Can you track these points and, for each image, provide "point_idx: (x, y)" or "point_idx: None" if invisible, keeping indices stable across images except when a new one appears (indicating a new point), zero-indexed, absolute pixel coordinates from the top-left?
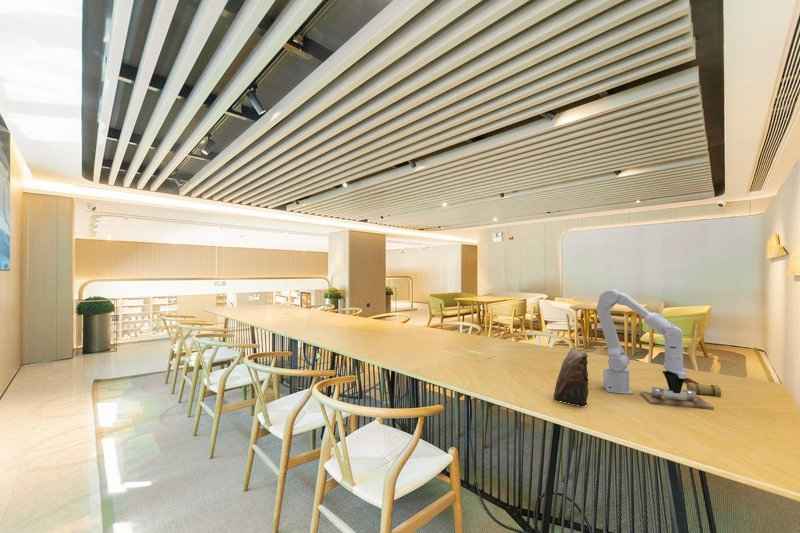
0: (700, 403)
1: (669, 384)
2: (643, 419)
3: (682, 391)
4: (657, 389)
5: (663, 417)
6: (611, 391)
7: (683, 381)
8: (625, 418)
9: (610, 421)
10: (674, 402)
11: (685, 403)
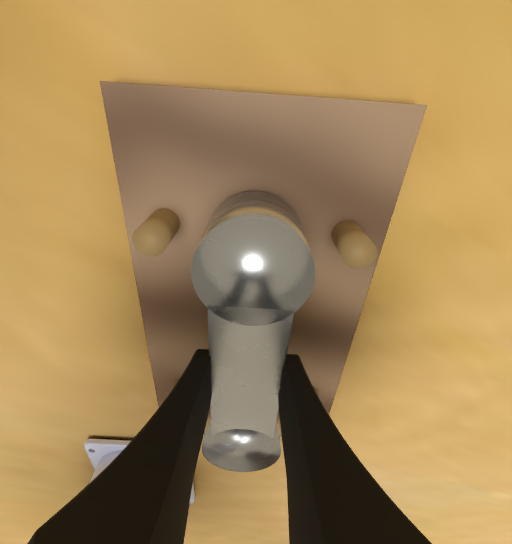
0: (332, 187)
1: (200, 431)
2: (493, 483)
3: (272, 338)
4: (257, 457)
5: (490, 434)
6: (193, 496)
7: (385, 500)
8: (473, 512)
9: (488, 536)
10: (326, 351)
11: (342, 301)
